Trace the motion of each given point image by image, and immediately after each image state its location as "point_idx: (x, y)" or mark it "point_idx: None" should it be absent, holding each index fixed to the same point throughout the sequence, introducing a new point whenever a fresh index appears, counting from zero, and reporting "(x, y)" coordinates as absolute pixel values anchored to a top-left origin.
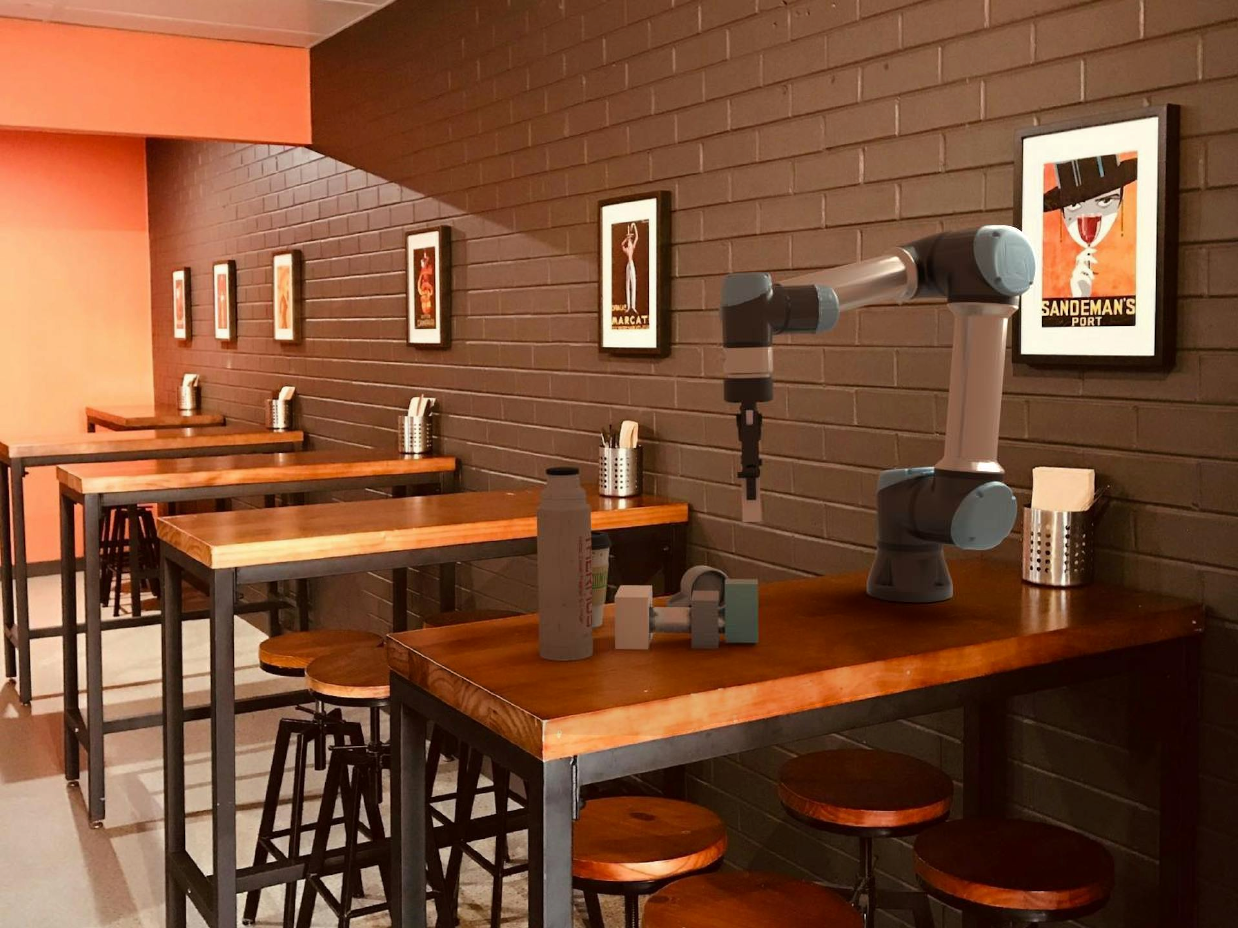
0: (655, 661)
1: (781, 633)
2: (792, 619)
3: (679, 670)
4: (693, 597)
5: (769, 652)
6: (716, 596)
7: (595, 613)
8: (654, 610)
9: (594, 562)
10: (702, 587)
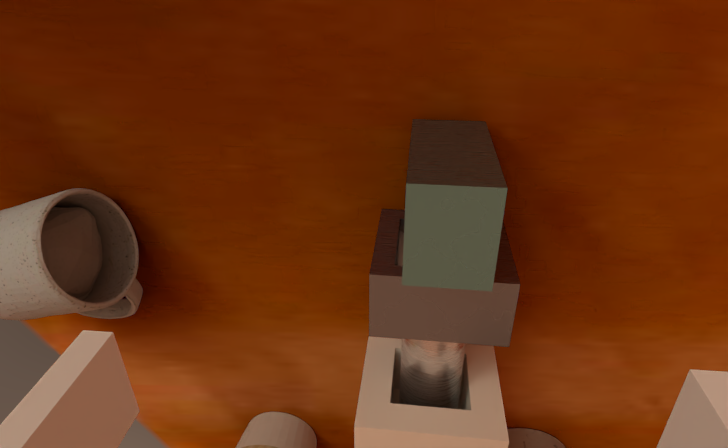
0: (599, 335)
1: (326, 45)
2: (143, 2)
3: (691, 296)
4: (467, 339)
5: (551, 90)
6: None
7: (301, 444)
8: (448, 389)
9: None
10: (81, 269)
